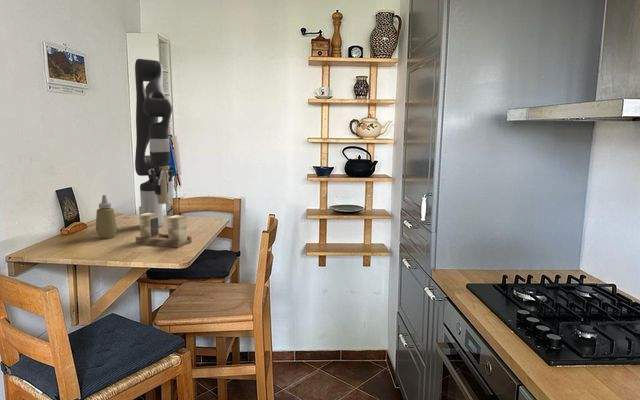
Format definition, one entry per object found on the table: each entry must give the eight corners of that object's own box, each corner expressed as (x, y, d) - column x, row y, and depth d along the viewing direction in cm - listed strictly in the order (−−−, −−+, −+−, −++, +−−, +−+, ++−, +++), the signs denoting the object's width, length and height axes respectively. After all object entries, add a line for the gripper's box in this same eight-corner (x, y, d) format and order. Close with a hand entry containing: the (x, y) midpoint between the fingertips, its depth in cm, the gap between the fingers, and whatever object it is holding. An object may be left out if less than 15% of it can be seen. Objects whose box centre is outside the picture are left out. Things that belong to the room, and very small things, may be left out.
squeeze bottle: (121, 236, 186) (119, 194, 184) (105, 240, 179) (102, 197, 176) (108, 234, 190) (105, 193, 187) (91, 238, 183) (88, 195, 180)
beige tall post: (171, 204, 174) (169, 166, 171) (153, 204, 172) (152, 166, 169) (170, 202, 178) (169, 165, 176) (153, 202, 176) (152, 165, 174)
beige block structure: (135, 242, 176) (134, 215, 174) (150, 237, 185) (149, 211, 183) (178, 247, 170) (177, 219, 168) (191, 242, 179) (190, 215, 177)
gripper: (163, 149, 179) (165, 190, 182) (139, 151, 166) (141, 195, 169) (178, 150, 177) (180, 191, 180) (156, 151, 164) (158, 196, 167)
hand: (161, 193), depth 174 cm, fingers closed on beige tall post, 4 cm apart
